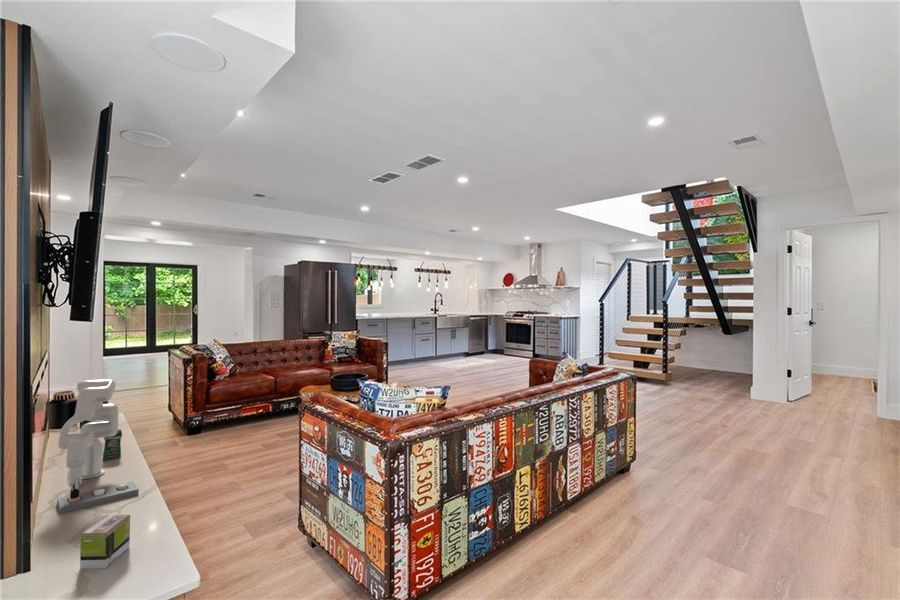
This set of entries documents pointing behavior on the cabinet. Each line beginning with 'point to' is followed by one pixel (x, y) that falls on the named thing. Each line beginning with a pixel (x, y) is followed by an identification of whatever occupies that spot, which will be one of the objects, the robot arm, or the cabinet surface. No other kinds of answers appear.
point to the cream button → (99, 492)
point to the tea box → (104, 541)
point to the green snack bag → (112, 446)
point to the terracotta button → (74, 499)
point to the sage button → (121, 487)
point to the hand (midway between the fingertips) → (74, 497)
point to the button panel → (96, 497)
